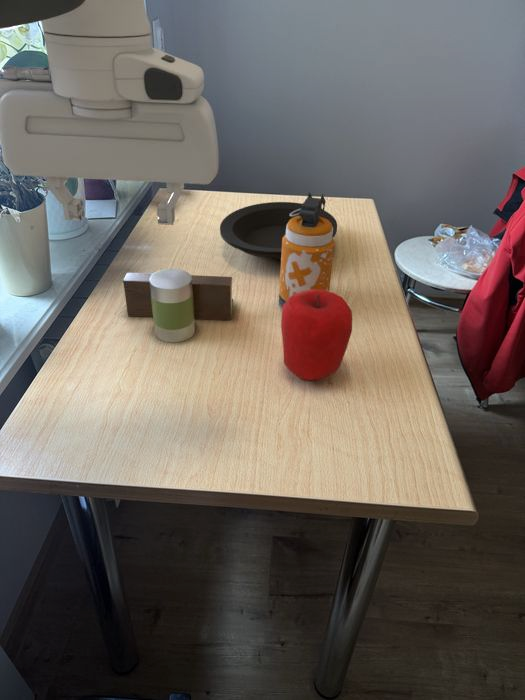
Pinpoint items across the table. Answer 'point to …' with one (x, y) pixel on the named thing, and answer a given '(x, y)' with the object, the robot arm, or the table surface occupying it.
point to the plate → (262, 227)
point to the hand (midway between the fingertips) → (120, 220)
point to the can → (172, 305)
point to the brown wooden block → (207, 295)
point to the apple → (315, 333)
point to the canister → (306, 251)
